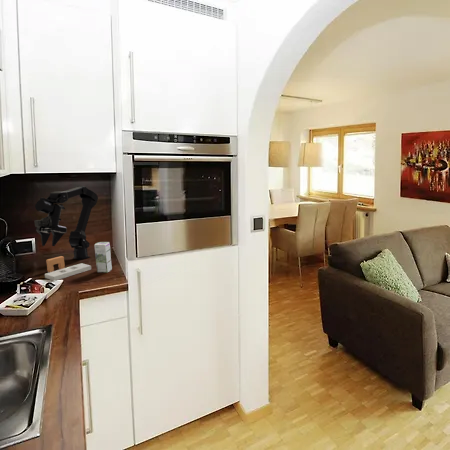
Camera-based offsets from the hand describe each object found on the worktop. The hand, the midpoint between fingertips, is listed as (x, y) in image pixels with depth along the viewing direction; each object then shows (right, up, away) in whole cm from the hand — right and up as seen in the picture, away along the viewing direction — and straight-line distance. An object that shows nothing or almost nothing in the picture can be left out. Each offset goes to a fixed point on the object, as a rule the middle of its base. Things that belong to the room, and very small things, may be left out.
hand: (48, 246), depth 187 cm
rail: (+12, -13, -3) cm, 18 cm away
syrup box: (+28, -13, 0) cm, 31 cm away
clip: (+3, -12, +3) cm, 13 cm away
